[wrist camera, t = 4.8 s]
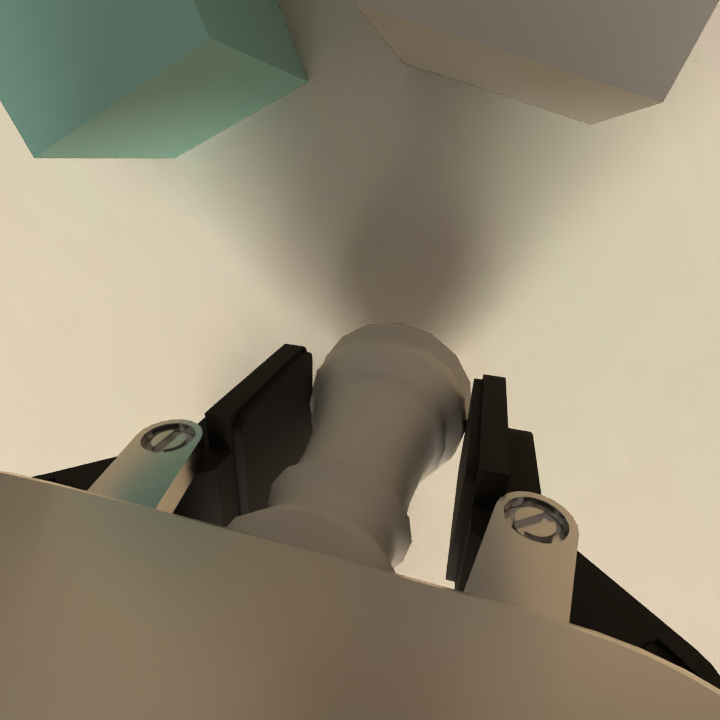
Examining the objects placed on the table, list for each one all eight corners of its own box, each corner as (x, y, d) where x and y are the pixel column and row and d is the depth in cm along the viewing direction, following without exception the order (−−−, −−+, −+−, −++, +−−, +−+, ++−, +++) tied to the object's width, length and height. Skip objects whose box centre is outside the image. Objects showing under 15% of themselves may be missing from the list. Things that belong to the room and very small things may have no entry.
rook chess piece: (304, 335, 13) (86, 533, 6) (451, 299, 11) (383, 514, 4) (352, 458, 14) (218, 733, 7) (488, 441, 13) (481, 776, 6)
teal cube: (225, -138, 11) (41, -350, 6) (308, 82, 12) (209, 38, 8) (88, -20, 12) (-129, -119, 8) (175, 158, 14) (34, 158, 10)
